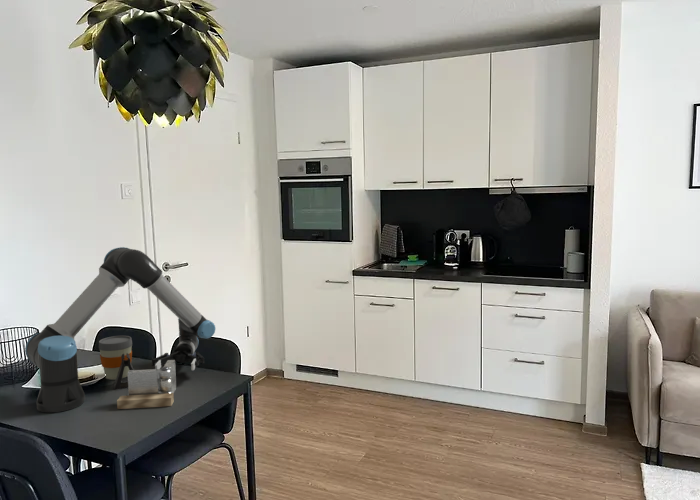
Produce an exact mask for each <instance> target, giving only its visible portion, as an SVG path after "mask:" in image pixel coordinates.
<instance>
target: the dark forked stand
mask: <svg viewBox="0 0 700 500" xmlns="http://www.w3.org/2000/svg"><path fill="white" fill-rule="evenodd" d="M126 355H127V358H128V359H127V360H123V359H124V358H125V356H124V354H122V356H121V359H122V362H121V365H120V368H119V371H118V374H117V377H116V379H114V390H122V389H128V381H123V380H122V379H123V378H122V376H123V371H124V367H125V366H128V368H129V370H135V368H134V367H133V365H132V361H131V362H130V355H129V354H128V353H126ZM122 381H123V382H122Z"/></svg>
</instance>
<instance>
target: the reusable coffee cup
mask: <svg viewBox="0 0 700 500" xmlns="http://www.w3.org/2000/svg"><path fill="white" fill-rule="evenodd" d="M132 346H133V340H132V337H131V336H129V335H113V336H109V337H105V338H104V337H103V338H102V339H100V340H99V341H98V350H99V353H100V354H99V358H100V363H101V367H102V368H103V371H104V375H105V374H106V377H105V379H107V380H116V377H117V374H118V371H119V368H120V365H121V362H122V359H121V356H122V354H124V356H125V358H124V359H123V360H127V359H128V358H127V355H126V353H128V354H129V355H130V362H131V363H132V359H133V357H132V356H133V350H132ZM128 372H129V368H128V366H125V367H124V371H123V376H122V379H124V378H126V377H127V378H128Z"/></svg>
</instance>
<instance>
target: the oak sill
mask: <svg viewBox="0 0 700 500" xmlns="http://www.w3.org/2000/svg"><path fill="white" fill-rule="evenodd" d="M174 398H175V397H174V393H165V394H147V395H129V394H128V395H120V396H119V398H117V400H116V406H117V410H126V409H128V410H129V409H143V408H160V407H162V408H163V407H172V406H173V403H174V401H175V399H174Z"/></svg>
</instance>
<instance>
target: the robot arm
mask: <svg viewBox="0 0 700 500" xmlns="http://www.w3.org/2000/svg"><path fill="white" fill-rule="evenodd" d="M130 280H131V281H133V282H135V283H137V284H138V286H140V287H141V288H143V289H147V290H148V291H149V292H151V293H152V295H154V296H155V297H156V298H157V299H158V300H159V302H161V303H162V304H163V305H164V306H165V307H166V308H167V309H168V310H169V311H170V312H172V314H173V315H174V316H176V317H177V320H178V336H179V339H178V341H179V343H178V344H177V345H176V347H175V349H174V351H173V352H172V353H170V354H169V352H165V353H164V354H162V355H159V356H157V357H155V358H153V359H151V366H152V367H154V369H161V368H162V366H163V365H165V364H166V362H167V361H168V360H175V363H176V362H179V363H182V364H183V363H184V364H185V363H189V362H190V365H191V366H190V367H191V371H195V369H196V367H198V366H199V365H200V364H201V365H204V364H205V357H204V356H203V355H202V354H200V352H199V351H198V350H197V348H198V346H199V342H200V341H199V338H201V339H207V340H208V339H210V338H212V337H213V336H214V334H215V333H216V325H215V323H214V322H213V321H211V320H208V319H207V318H206V317H204V315H202V314H201V312H199V310H198V309H197V308H195V306H194V305H192V303H191V302H190V301H189V300H188V299H187V298H186V297H185V296H184V294H182V293H181V292H180V291H179V290H178V289H177V288H176V287H175V286H174V285H173V284H172V283H171V282H170V281H169V280H168V279H167V278H166V277H165V276H164V275H163V270H162V269H161V268H160V267H159V266H158V265H157V264H156V263H155V261H153V260H152V259H151V258H150V257H149V256H148V255H147V254H146V253H145V252H143V251H141V250H138V249H133V248H128V247H124V246H122V247H121V246H120V247H115V248H113V249H110V250H109V251H108V252H107V253H106V254H105V256H104V259H103V263H102V264H101V265H100V266H99V268H98V275H97V276H96V277H95V278H94V279H93V280H92V281H91V282H90V283H89V285H88V286H87V287H86V288H85V289H84V290H83V291H81V293H80V294H79V296H78V297H77V298H76V299H75V300H74V301H73V302H72V304H71V305H69V307H68V308H66V311H64V312H63V314H62V315H61V316H60V317H59V318H58V319H57V320H56V321H55V322H54V323H52V324H51V323H50V324H47V325H46V326H45V327H44V328H43V329H42V331H41V332H38V333H34V334H33V335H32V336H31V337H29V338H28V340H27V342H26V344H25V347H24V350H25V352H24V353H25V356H26V358H27V359H28V361H29V362H30V363H31V364H32V365H34V366H35V367H37V368H39V377H40V378H39V379H40V388H39V392H38V395H37V399H36V403H35V404H36V410H37V411H38V412H42V413H59V412H65V411H70V410H73V409H74V408H75V409H76V408H78V407H79V406H81V405H84V403H85V401H86V394H85V392H84V390H83V387H82V384H81V382H80V380H79V369H78V355H77V350H78V347H77V343H76V340H75V337H76V336H77V335H78V333H79V332H80V331H81V330H82V329H83V328H84V327H85V325H87V323H88V322H89V320H90V319H92V317H93V316H94V315H95V314H96V313H97V312H98V311H99V309H100V308H101V307H102V306H103V305H104V304H105V302H106V301H107V300H108V299H109V298H110V296H112V294H113V293H114V292H115V291H116V289H118V288H121V287H123V288H124V286H125V285H127V283H128V282H129V281H130Z"/></svg>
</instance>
